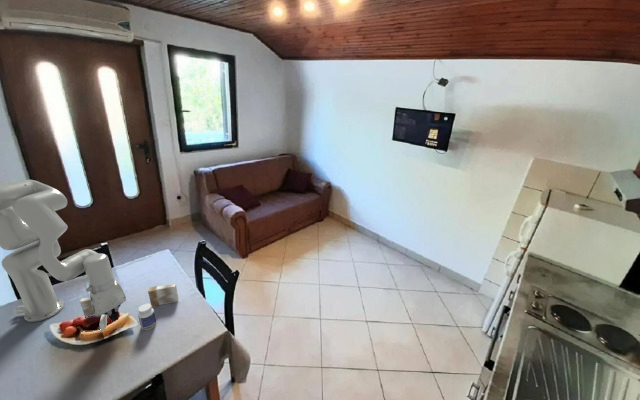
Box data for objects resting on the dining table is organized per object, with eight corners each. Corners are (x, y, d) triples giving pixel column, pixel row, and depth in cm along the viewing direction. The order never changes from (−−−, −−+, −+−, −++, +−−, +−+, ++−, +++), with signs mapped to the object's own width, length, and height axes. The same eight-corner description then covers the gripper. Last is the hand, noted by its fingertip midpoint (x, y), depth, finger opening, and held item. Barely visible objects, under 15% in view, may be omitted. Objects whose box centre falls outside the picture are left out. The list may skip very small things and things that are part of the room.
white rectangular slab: (105, 317, 116) (100, 303, 113) (112, 315, 117) (107, 301, 114) (100, 341, 105) (95, 326, 103) (107, 338, 107) (103, 323, 104)
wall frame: (84, 318, 115) (79, 302, 112) (87, 313, 118) (82, 297, 115) (177, 302, 127) (174, 287, 124) (178, 298, 129) (175, 283, 126)
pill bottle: (159, 322, 116) (155, 304, 112) (148, 332, 110) (144, 314, 107) (149, 318, 117) (145, 301, 113) (137, 328, 112) (133, 310, 108)
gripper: (84, 298, 96) (98, 336, 103) (128, 276, 108) (138, 311, 115) (75, 291, 99) (88, 327, 106) (119, 270, 112) (129, 304, 118)
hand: (114, 319), depth 110 cm, fingers closed
